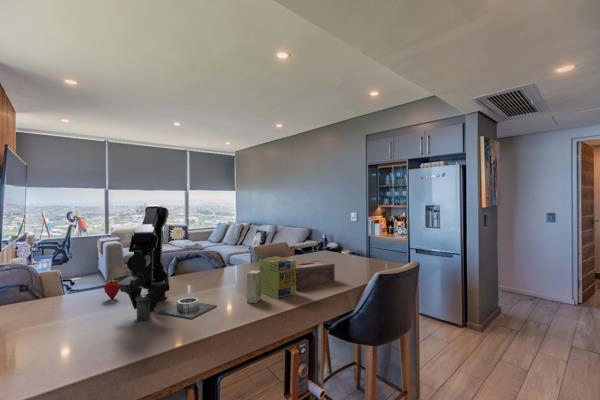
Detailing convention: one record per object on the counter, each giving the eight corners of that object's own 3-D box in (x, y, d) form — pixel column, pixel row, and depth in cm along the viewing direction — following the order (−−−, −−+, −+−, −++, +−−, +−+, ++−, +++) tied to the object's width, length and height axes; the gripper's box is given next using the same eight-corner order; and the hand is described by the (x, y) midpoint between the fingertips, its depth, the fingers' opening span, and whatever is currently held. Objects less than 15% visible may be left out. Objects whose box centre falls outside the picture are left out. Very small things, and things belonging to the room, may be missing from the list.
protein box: (278, 299, 126) (278, 263, 127) (258, 291, 138) (258, 258, 138) (296, 294, 133) (296, 260, 134) (276, 287, 145) (276, 255, 145)
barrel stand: (157, 313, 110) (157, 303, 110) (185, 301, 123) (185, 293, 123) (191, 319, 104) (191, 308, 104) (216, 306, 117) (216, 297, 117)
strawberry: (103, 303, 122) (103, 278, 122) (104, 298, 128) (104, 275, 128) (120, 300, 125) (120, 277, 125) (120, 296, 131) (120, 273, 131)
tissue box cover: (291, 290, 141) (290, 269, 141) (278, 283, 154) (278, 264, 154) (334, 283, 154) (334, 263, 154) (319, 277, 166) (319, 259, 166)
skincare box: (256, 303, 121) (256, 273, 121) (246, 302, 121) (246, 273, 122) (261, 298, 127) (261, 270, 127) (251, 298, 128) (251, 269, 128)
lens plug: (131, 320, 103) (132, 297, 103) (144, 315, 108) (144, 293, 108) (142, 322, 101) (142, 299, 101) (155, 317, 106) (155, 295, 106)
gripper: (104, 268, 101) (103, 314, 100) (143, 273, 94) (143, 322, 93) (133, 262, 111) (132, 304, 111) (170, 266, 104) (170, 310, 104)
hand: (143, 310), depth 104 cm, fingers open, 8 cm apart
